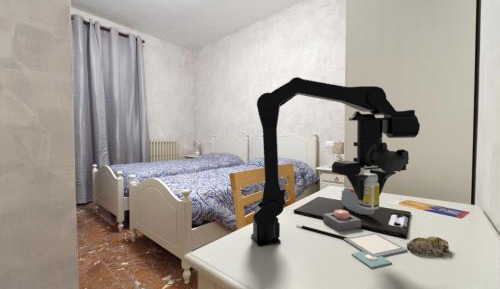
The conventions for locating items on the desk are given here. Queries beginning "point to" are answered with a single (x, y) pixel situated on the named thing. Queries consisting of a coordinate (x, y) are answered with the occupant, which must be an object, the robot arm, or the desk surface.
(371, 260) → the card
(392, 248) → the sketch pad
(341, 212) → the button
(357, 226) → the button housing
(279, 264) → the desk surface
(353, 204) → the grey rounded slab
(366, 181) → the supplement bottle
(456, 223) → the desk surface
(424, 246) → the mineral rock
